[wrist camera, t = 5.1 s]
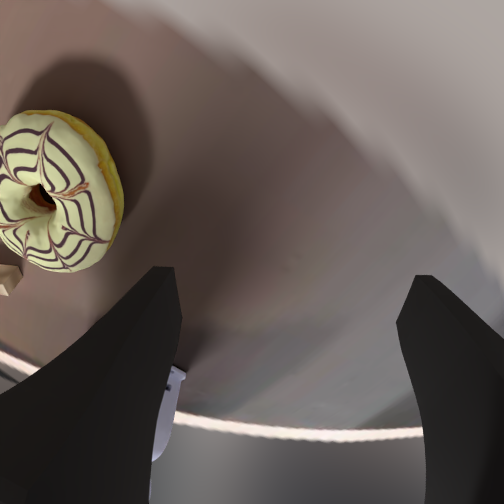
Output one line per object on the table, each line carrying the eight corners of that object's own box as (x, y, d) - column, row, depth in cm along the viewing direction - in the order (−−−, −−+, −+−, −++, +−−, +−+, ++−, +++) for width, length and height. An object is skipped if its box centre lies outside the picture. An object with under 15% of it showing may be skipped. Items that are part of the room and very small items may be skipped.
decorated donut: (-12, 144, 15) (-46, 164, 12) (95, 73, 13) (57, 80, 10) (45, 260, 21) (21, 291, 18) (157, 230, 19) (138, 266, 16)
